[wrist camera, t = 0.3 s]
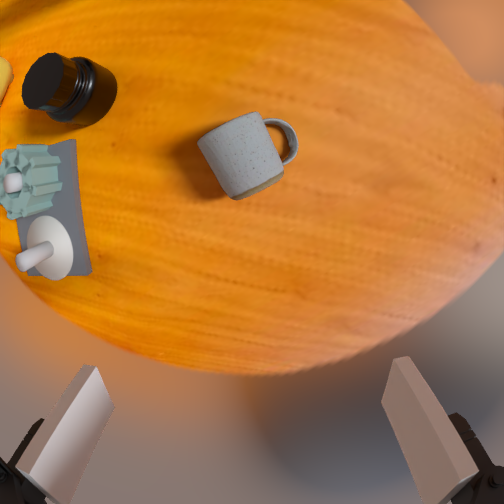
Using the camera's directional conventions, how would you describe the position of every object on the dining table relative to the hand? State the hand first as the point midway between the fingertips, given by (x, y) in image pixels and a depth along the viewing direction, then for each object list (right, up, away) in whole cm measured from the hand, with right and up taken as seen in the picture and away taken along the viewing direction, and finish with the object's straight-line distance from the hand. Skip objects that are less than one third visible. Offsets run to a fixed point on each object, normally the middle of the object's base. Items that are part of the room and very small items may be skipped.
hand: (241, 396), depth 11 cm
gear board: (-31, +12, +26) cm, 42 cm away
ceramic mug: (+1, +19, +23) cm, 30 cm away
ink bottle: (-22, +28, +21) cm, 41 cm away
